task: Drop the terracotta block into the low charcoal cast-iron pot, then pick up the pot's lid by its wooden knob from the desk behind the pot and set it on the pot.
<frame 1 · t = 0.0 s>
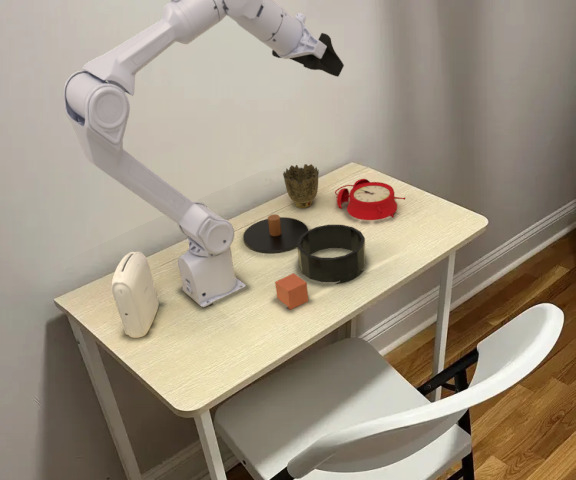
hand: (325, 65, 116), 32 cm above the table, tool tilted 50°, fingers open, 7 cm apart
block: (292, 300, 121), on the table
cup: (303, 207, 147), on the table
alarm clock: (366, 208, 144), on the table
photo printer: (143, 321, 121), on the table
lid: (275, 236, 138), point 1 cm above the table
pot: (332, 266, 128), on the table
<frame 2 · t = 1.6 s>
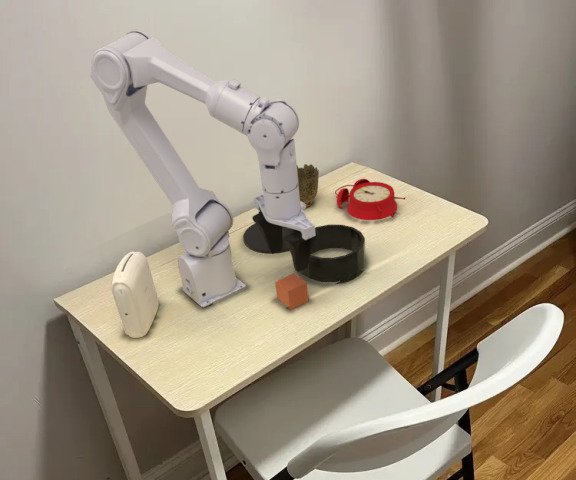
hand: (288, 260, 116), 8 cm above the table, tool pointing down, fingers open, 7 cm apart
nothing on the table moved.
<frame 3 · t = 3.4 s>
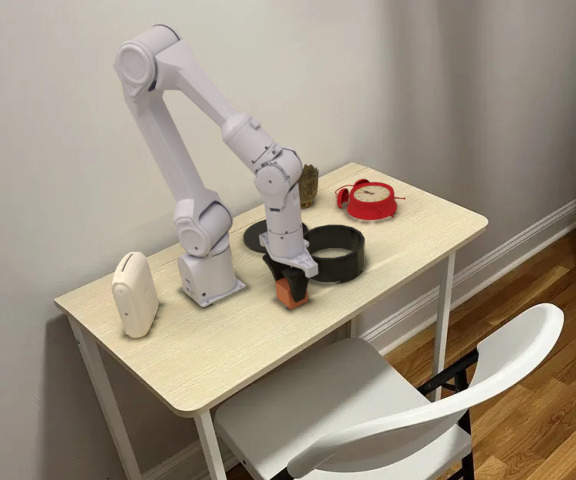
hand: (292, 294, 120), 1 cm above the table, tool pointing down, fingers closed on block, 4 cm apart
block: (292, 300, 121), on the table, touching gripper
everything else where it was.
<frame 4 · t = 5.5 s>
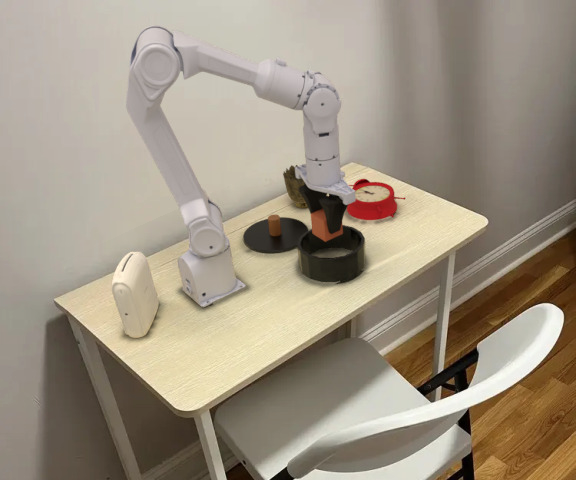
hand: (327, 226, 122), 9 cm above the table, tool pointing down, fingers closed on block, 4 cm apart
block: (327, 233, 123), point 7 cm above the table, touching gripper
everything else where it was.
when the fingers open (2 cm above the table, at t = 8.0 s): block stays where it is, resting on pot.
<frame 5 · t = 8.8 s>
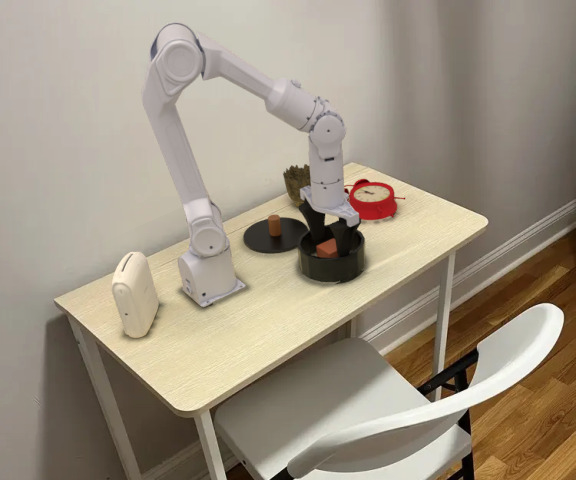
hand: (331, 246, 126), 4 cm above the table, tool pointing down, fingers open, 7 cm apart
block: (332, 264, 128), resting on pot
everything else where it was.
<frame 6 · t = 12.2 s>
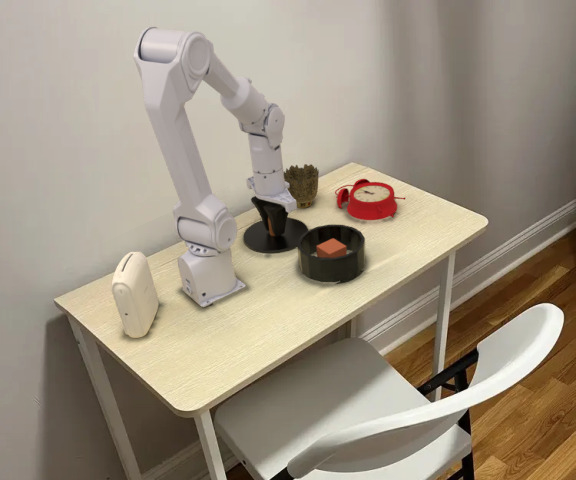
hand: (275, 231, 137), 2 cm above the table, tool pointing down, fingers closed on lid, 2 cm apart
lid: (275, 236, 138), point 1 cm above the table, touching gripper
everything else where it was.
when the fingers open (6 cm above the table, at t = 16.2 s): lid stays where it is, resting on pot.
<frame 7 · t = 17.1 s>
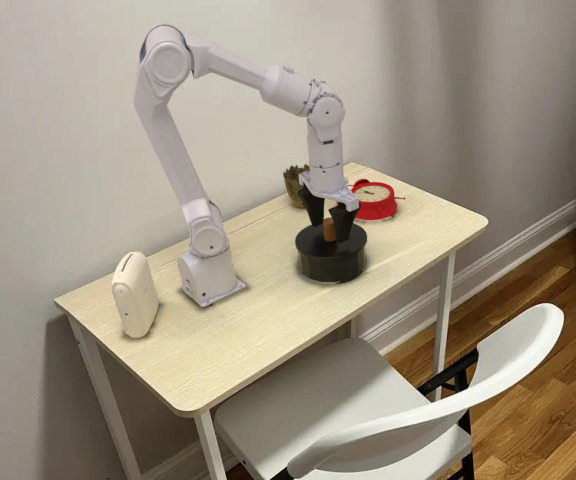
hand: (330, 232, 124), 7 cm above the table, tool pointing down, fingers open, 7 cm apart
lid: (331, 241, 125), point 5 cm above the table, touching pot
everything else where it was.
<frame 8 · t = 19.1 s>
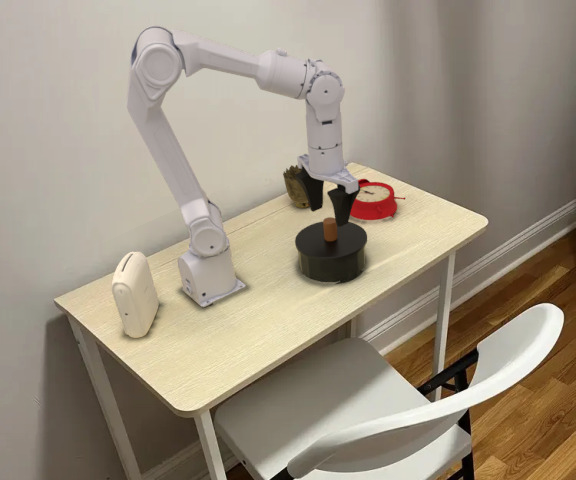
hand: (329, 216, 122), 10 cm above the table, tool pointing down, fingers open, 7 cm apart
nothing on the table moved.
at the end: block inside the target area in the pot (0.0 cm from its centre), point 0.4 cm above the pot's base; lid 0.1 cm off-centre on the pot, point 5.4 cm above the pot's base; lid tilted 0° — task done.
